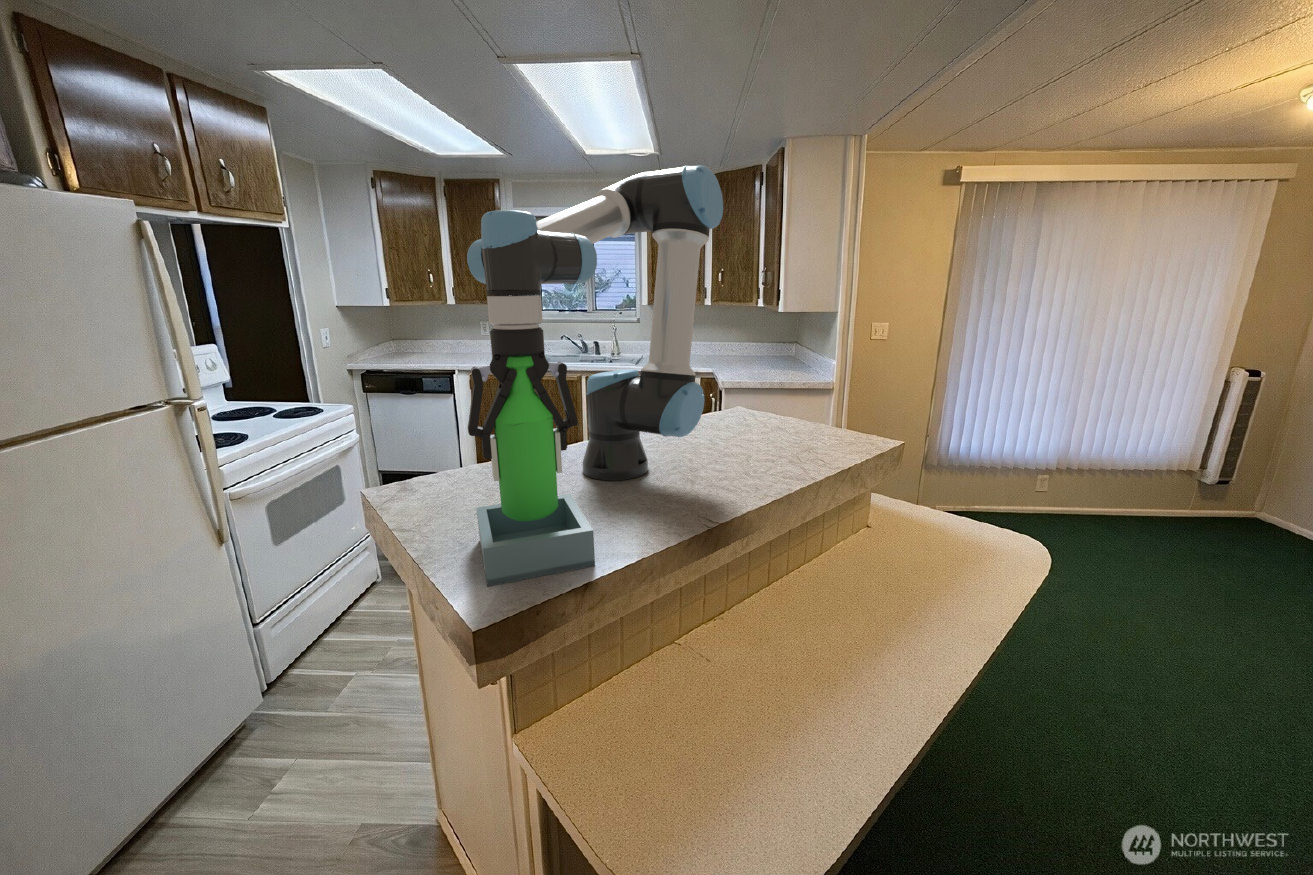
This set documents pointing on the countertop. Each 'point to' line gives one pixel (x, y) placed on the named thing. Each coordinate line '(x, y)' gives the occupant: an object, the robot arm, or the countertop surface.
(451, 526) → the countertop surface
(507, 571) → the bin
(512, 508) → the bottle
